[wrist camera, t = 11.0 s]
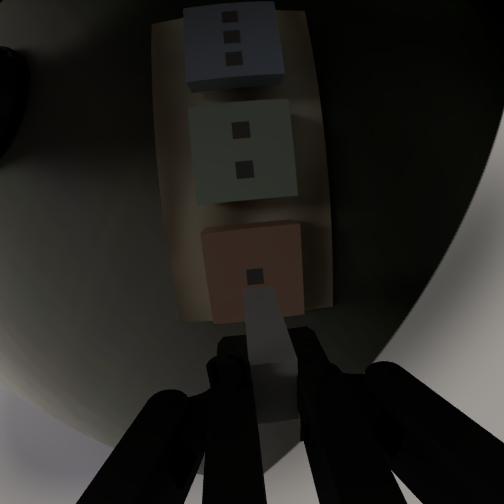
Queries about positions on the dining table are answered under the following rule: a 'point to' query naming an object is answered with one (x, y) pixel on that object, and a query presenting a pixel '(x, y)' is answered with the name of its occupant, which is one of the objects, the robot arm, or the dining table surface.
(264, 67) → the tile
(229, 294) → the tile
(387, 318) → the dining table surface
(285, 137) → the tile
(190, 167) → the board
